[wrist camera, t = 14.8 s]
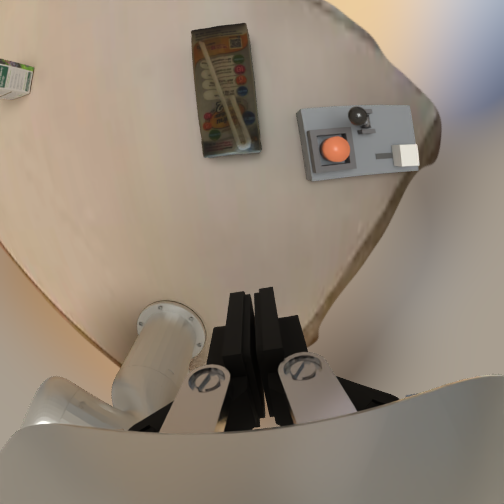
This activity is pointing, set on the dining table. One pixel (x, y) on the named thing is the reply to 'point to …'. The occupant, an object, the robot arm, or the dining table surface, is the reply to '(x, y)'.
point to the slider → (405, 155)
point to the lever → (359, 117)
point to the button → (335, 149)
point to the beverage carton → (225, 91)
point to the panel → (355, 140)
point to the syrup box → (14, 79)
